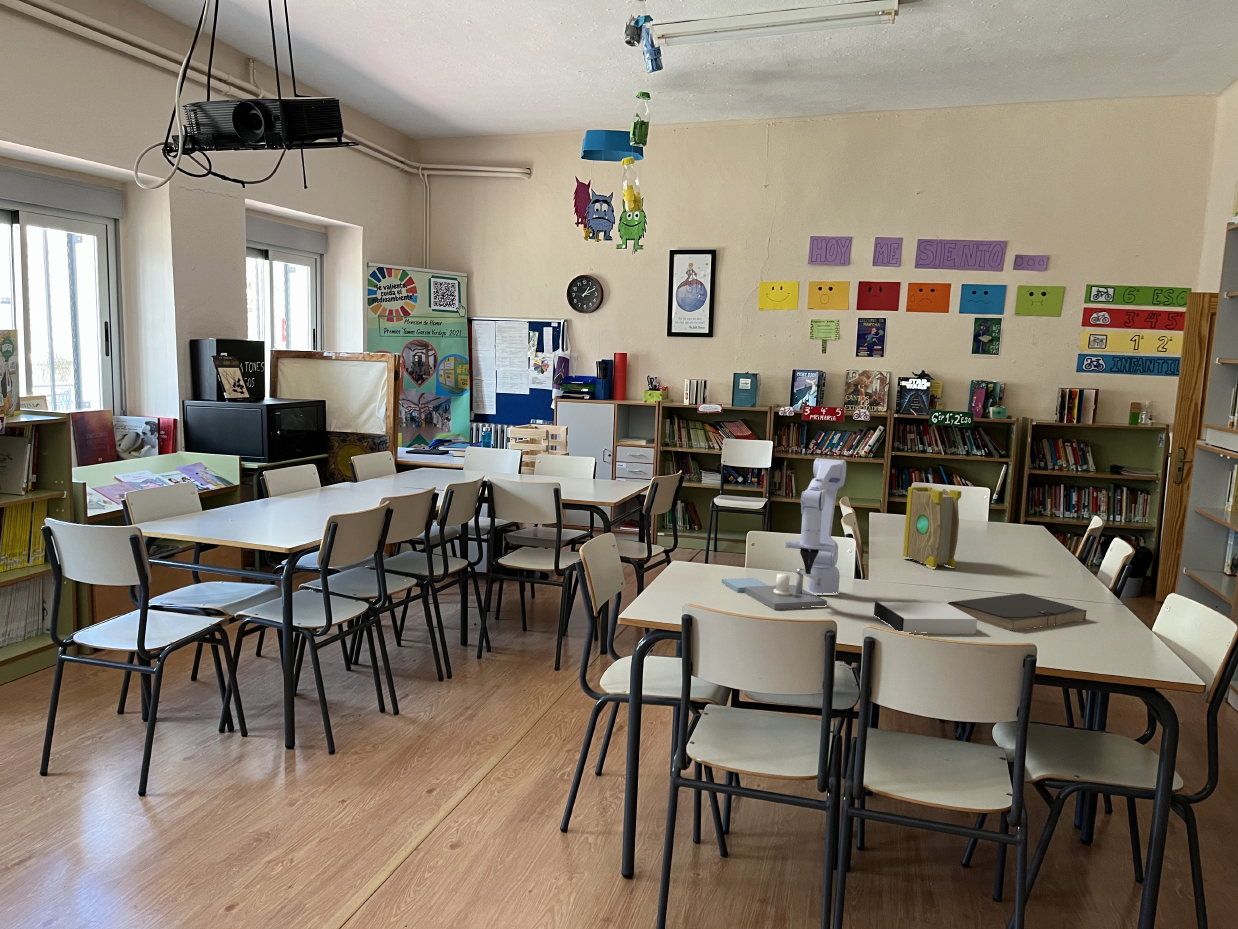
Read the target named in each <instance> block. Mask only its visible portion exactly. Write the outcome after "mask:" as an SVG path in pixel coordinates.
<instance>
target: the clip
mask: <svg viewBox="0 0 1238 929" xmlns="http://www.w3.org/2000/svg"><path fill="white" fill-rule="evenodd" d="M795 572H796V574H797V573H799V574H802V575H803V577H807V578H808V579H809V578H811V579H813V580H816V581H815V585H816V586H820V585H821V577H819V576H817V575H815V574H812V573H811V574H805V568H799V567H797V568H796V571H795Z"/></svg>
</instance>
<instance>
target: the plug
mask: <svg viewBox="0 0 1238 929" xmlns="http://www.w3.org/2000/svg"><path fill="white" fill-rule="evenodd" d="M790 577H791V576H790V574H788V573H777V574H776V579H775V580H776V583H775V586H776V589H774V591H773V593H774V594H775V595H778V596H790V595H791V591H790V590H789V585H790V579H791V578H790Z"/></svg>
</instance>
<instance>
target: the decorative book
mask: <svg viewBox="0 0 1238 929" xmlns="http://www.w3.org/2000/svg"><path fill="white" fill-rule="evenodd" d="M906 498H907V500H906V513H905V522H904V523H905V525H904V526H905V528H904V537H903V538H904V540H903V549H902V550H903V552H902V557H903V556H905V557H909V558H912V559H914V560H917V561H919V562H922V563H925V564H926V565H929V566H931V567H937V568H938V564H942V563H943V565H944V564H945V565H948V566H951V567H955V568H957V561H956V558H955V555H956V549H957V547H958V546H957V545H958V540H959V525H960V518H959V500H960V499H961V498H962V491H961V490H955V489H949V491H948V490H947V489H945V488H944V489H942V490H938V489H934V488H933V487H930V486H909V487H908V488H907V497H906ZM914 560H913V561H914ZM917 561H916V562H917ZM919 562H918V563H919Z"/></svg>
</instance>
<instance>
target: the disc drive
mask: <svg viewBox="0 0 1238 929" xmlns="http://www.w3.org/2000/svg"><path fill="white" fill-rule="evenodd" d="M947 603H948V602H888V601H887V602H884V601H883V602H880V601H875V600H874V606H873V607H874V608H873V616H874V615H875V616H877V617H879V618H880V619H881V620H883V621H885V622H886V623H888V624H890V625H891V626H892V627H893V628H894V629H895V630H898V631H904V632H911V633H919V634H920V635H922V633H921V632H927V633H938V634H937V635H976V634H977V623H978V620H977V619H976V618H974V617H972V616H970V615H968V614H966V613H965V612H963V611H961V610H959V609H957V608H955V607H953V606H951V605H949V604H947ZM875 616H874V617H875ZM881 620H880V621H881ZM894 629H893V630H894ZM895 630H894V631H895ZM915 631H916V632H915ZM939 633H940V634H939ZM960 633H962V634H960ZM965 633H966V634H965ZM969 633H970V634H969ZM975 633H976V634H975Z"/></svg>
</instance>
